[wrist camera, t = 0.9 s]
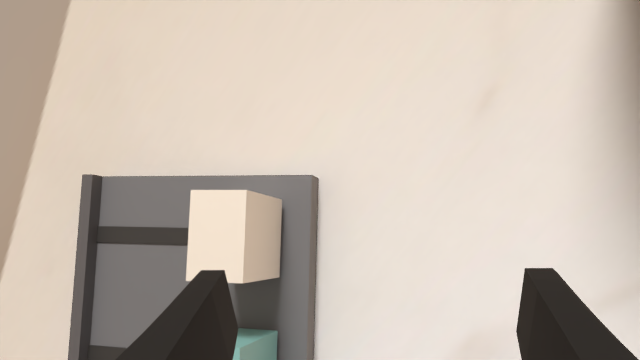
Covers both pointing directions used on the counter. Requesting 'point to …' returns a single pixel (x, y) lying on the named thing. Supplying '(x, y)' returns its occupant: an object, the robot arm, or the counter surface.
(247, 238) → the ivory fader
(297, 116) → the counter surface
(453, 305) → the counter surface
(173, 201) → the fader console
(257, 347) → the teal fader
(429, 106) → the counter surface
